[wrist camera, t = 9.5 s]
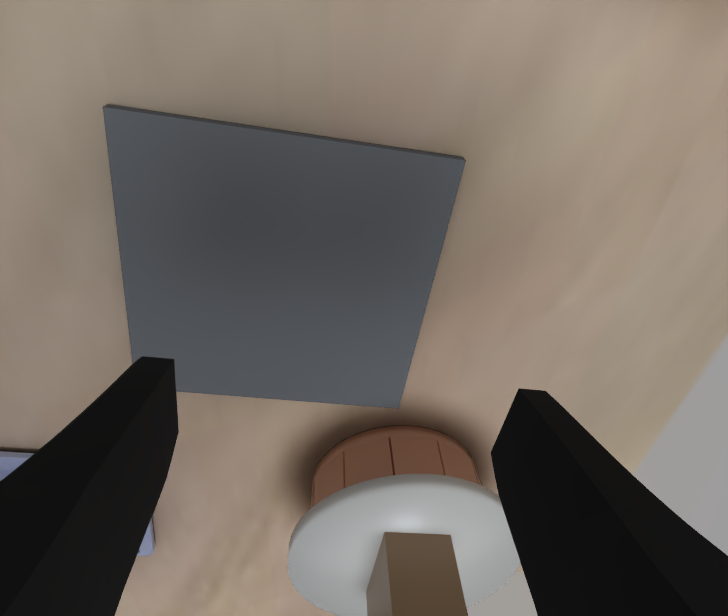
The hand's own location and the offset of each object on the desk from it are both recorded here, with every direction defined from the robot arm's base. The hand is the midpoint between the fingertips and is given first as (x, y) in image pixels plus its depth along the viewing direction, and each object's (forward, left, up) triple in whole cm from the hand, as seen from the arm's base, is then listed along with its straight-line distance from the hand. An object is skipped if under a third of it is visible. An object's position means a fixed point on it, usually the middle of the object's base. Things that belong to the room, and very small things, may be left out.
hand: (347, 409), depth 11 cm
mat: (-2, -3, -10) cm, 11 cm away
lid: (+5, -15, -6) cm, 17 cm away
